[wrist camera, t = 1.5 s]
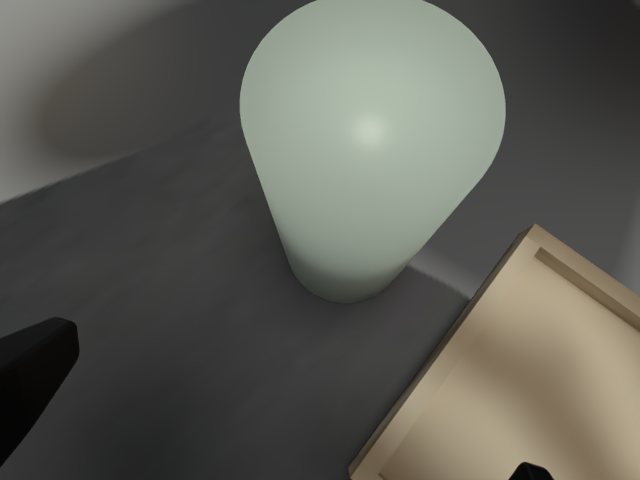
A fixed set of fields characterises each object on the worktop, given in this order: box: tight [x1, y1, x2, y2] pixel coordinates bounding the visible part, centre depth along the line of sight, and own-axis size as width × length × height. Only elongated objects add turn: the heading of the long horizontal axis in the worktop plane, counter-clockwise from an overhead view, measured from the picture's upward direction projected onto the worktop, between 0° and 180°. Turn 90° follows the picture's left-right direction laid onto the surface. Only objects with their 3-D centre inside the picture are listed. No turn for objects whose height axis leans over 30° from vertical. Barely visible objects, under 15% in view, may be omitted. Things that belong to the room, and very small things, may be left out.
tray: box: [348, 224, 640, 480], centre depth 19 cm, size 14×12×2 cm
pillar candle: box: [240, 0, 505, 304], centre depth 16 cm, size 6×6×13 cm
